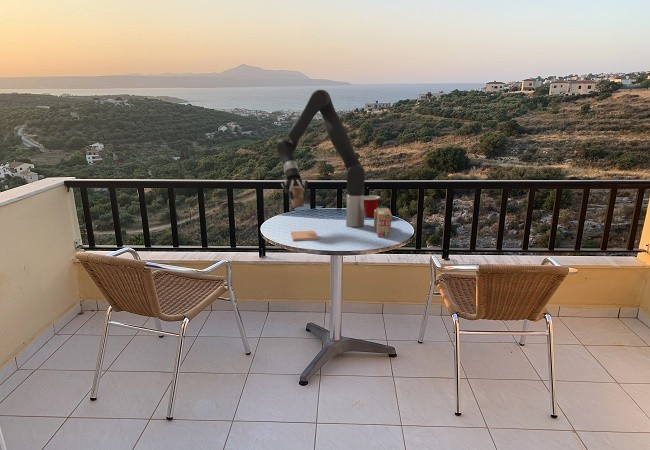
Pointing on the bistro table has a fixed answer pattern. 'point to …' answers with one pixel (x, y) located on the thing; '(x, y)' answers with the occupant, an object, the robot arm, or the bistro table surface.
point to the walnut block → (297, 196)
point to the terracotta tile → (304, 235)
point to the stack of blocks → (382, 222)
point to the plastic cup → (370, 205)
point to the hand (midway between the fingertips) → (298, 198)
